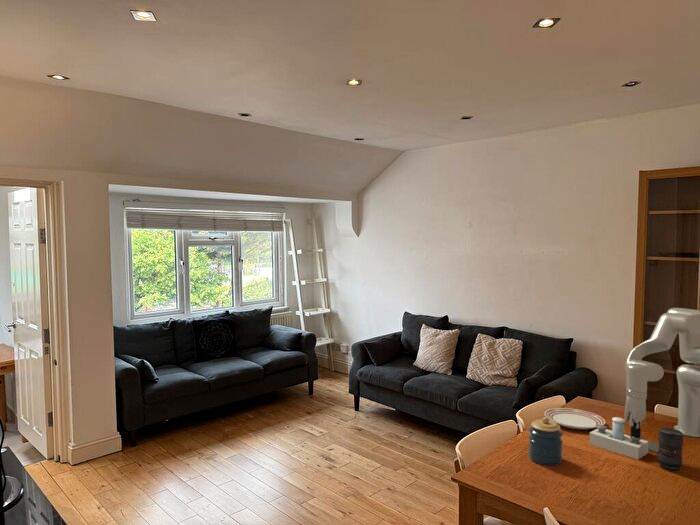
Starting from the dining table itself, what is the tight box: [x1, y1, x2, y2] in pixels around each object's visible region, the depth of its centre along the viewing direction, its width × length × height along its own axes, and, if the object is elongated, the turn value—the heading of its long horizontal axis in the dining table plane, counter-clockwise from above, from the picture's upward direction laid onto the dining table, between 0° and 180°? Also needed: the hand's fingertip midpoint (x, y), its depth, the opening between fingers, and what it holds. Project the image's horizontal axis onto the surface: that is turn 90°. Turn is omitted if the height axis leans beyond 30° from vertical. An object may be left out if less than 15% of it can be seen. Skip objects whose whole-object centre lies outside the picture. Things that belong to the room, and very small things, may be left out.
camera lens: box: [657, 427, 684, 473], centre depth 191 cm, size 8×8×15 cm
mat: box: [644, 439, 659, 454], centre depth 211 cm, size 9×9×1 cm
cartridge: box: [611, 416, 626, 441], centre depth 210 cm, size 5×5×13 cm
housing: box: [588, 428, 649, 460], centre depth 210 cm, size 20×10×5 cm, turn 37°
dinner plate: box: [544, 407, 606, 430], centre depth 240 cm, size 27×27×3 cm
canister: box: [528, 416, 564, 466], centre depth 200 cm, size 13×13×18 cm
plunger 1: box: [596, 424, 608, 434], centre depth 216 cm, size 4×4×6 cm
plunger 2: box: [629, 434, 642, 444], centre depth 204 cm, size 4×4×6 cm
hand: (635, 436), depth 204 cm, fingers closed
